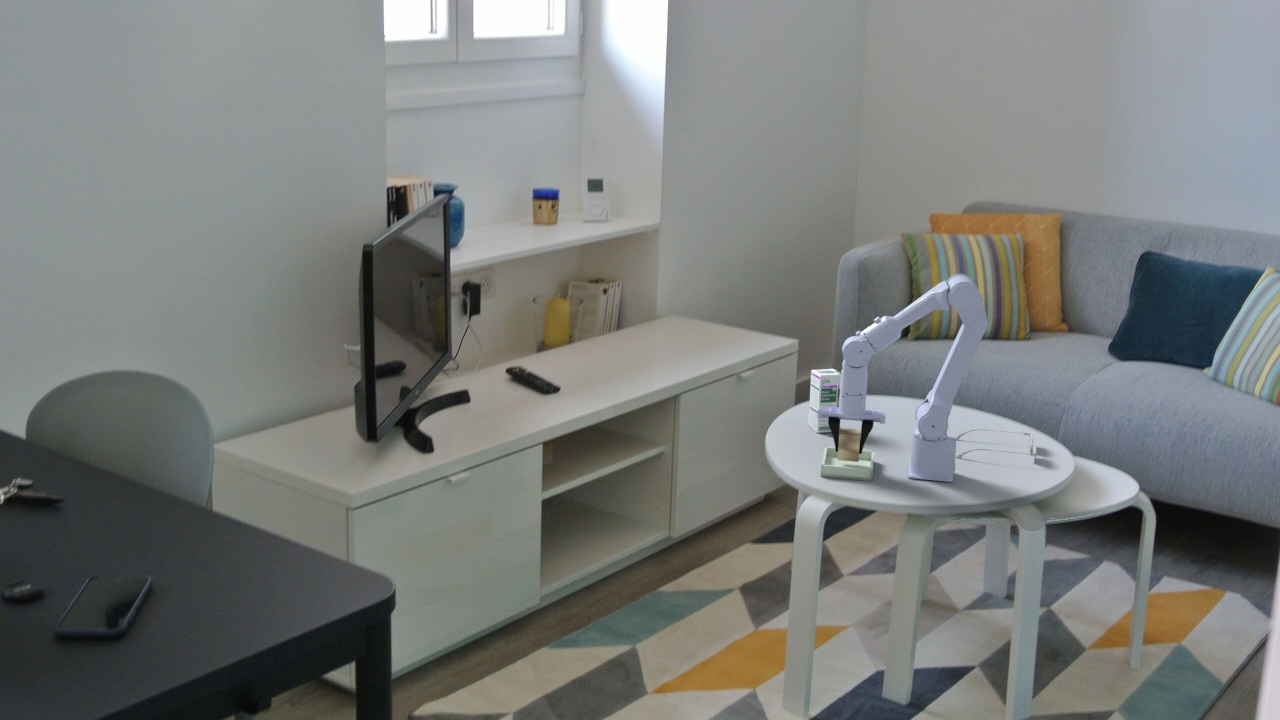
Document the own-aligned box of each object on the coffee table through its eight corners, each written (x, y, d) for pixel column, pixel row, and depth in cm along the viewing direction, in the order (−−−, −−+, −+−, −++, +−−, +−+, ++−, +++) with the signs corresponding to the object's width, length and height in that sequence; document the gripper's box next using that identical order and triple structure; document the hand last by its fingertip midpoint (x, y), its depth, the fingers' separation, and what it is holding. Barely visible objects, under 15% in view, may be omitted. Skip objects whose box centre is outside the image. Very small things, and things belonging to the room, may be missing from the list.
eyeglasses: (1035, 468, 283) (1037, 451, 282) (953, 461, 286) (954, 444, 285) (1029, 446, 297) (1031, 430, 296) (950, 440, 301) (952, 424, 300)
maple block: (859, 455, 279) (861, 429, 277) (858, 461, 275) (860, 435, 273) (838, 453, 280) (840, 427, 278) (837, 460, 276) (839, 433, 274)
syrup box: (817, 433, 301) (821, 375, 297) (807, 426, 307) (811, 368, 303) (839, 432, 303) (843, 374, 299) (829, 424, 308) (833, 367, 304)
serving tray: (873, 461, 283) (874, 450, 282) (872, 481, 270) (873, 470, 270) (824, 457, 285) (824, 446, 284) (820, 476, 273) (821, 465, 272)
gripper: (887, 389, 276) (882, 448, 279) (820, 384, 278) (816, 442, 282) (887, 398, 269) (882, 458, 272) (818, 393, 272) (814, 452, 275)
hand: (848, 451), depth 277 cm, fingers closed on maple block, 4 cm apart
